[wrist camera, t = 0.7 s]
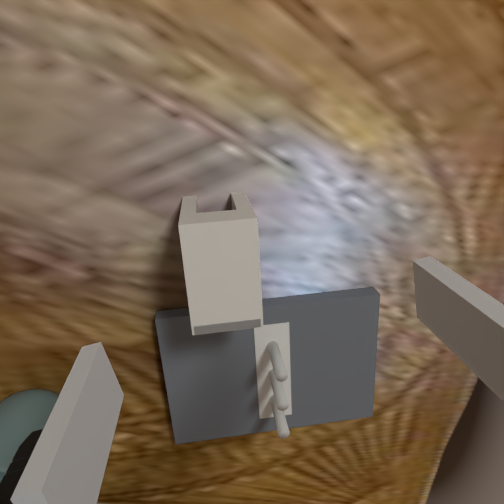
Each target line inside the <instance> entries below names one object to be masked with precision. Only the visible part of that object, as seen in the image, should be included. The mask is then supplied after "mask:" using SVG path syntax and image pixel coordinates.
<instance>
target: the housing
mask: <svg viewBox="0 0 504 504" xmlns="http://www.w3.org/2000/svg"><path fill="white" fill-rule="evenodd" d="M231 201H232V210H227V211H216V212H205V213H198V205H197V196H188V197H183V199H182V205H181V211H180V217H179V223H178V228H179V235H180V243H181V251H182V259H183V266H184V274H185V282H186V289H187V297H188V305H189V313H190V320H191V328H192V335H200V334H208V333H217V332H225V331H234V330H242V329H251V328H259V327H264V326H263V307H262V289H261V271H260V253H259V235H258V218H257V216H256V214H255V212H254V210H253V208H252V206H251V204H250V202H249V200H248V198H247V196H246V194H245V192H235V193H231Z"/></svg>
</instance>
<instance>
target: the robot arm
mask: <svg viewBox="0 0 504 504" xmlns="http://www.w3.org/2000/svg"><path fill="white" fill-rule="evenodd" d="M413 270H414V283H415V296H416V309H417V317H418V318H419V319H420V320H421V321H422V322H423V323H424V324H425V325H426V326H427V327H428V328H429V329H430V330H431V331H432V332H433V333H434V334H435V335H436V336H437V337H438V338H439V339H440V340H441V341H442V342H443V343H444V344H445V345H446V346H447V347H448V348H449V349H450V350H451V351H452V352H453V353H454V354H455V355H456V356H457V357H458V358H459V359H460V360H461V361H462V362H463V363H464V364H465V365H466V366H467V367H468V368H470V369H471V370H472V371H473V372H474V373H475V374H476V375H477V376H478V377H479V378H480V379H481V380H482V381H483V382H484V383H485V384H486V385H487V386H488V387H489V388H490V389H491V390H492V391H493V392H494V393H495V394H496V395H497V396H498V397H499V398H500V399H501V400H502V401H503V402H504V305H503V304H502V303H500V302H499V301H497V300H496V299H494V298H493V297H491V296H490V295H488V294H487V293H485V292H484V291H482V290H481V289H479V288H478V287H476V286H475V285H473V284H472V283H470V282H469V281H467V280H466V279H464V278H463V277H461V276H460V275H458V274H457V273H455V272H454V271H452V270H451V269H449V268H448V267H446V266H444V265H443V264H441V263H440V262H438V261H437V260H435V259H434V258H432V257H431V256H429V257H425V258H421V259H417V260H414V261H413ZM123 397H124V394H123V392H122V390H121V387H120V385H119V383H118V380H117V378H116V376H115V373H114V371H113V369H112V366H111V364H110V362H109V360H108V357H107V355H106V353H105V350H104V348H103V346H102V343H101V342H99V343H95V344H91V345H87V346H84V347H82V348H81V350H80V352H79V355H78V357H77V359H76V361H75V363H74V365H73V367H72V369H71V372H70V374H69V376H68V378H67V380H66V382H65V384H64V386H63V389H62V391H61V393H60V395H59V397H58V399H57V401H56V403H55V406H54V408H53V410H52V412H51V414H50V416H49V418H48V420H47V423H46V425H45V427H44V429H40V430H37V431H33V432H31V434H30V435H29V436H28V437H27V438H26V439H25V440H24V441H23V443H22V444H21V445H20V446H19V448H18V450H17V452H16V454H15V456H14V458H13V459H12V463H10V465H9V467H8V469H7V471H6V475H4V477H3V479H2V481H1V483H0V504H97V500H98V496H99V492H100V488H101V484H102V480H103V476H104V472H105V468H106V464H107V460H108V456H109V452H110V448H111V444H112V440H113V436H114V432H115V428H116V424H117V420H118V417H119V413H120V409H121V405H122V401H123Z"/></svg>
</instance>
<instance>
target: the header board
mask: <svg viewBox="0 0 504 504" xmlns="http://www.w3.org/2000/svg"><path fill="white" fill-rule="evenodd" d="M379 302H380V294H379V293H378V291H377V290H376V289H375V288H374V287H368V288H359V289H350V290H341V291H332V292H323V293H314V294H305V295H296V296H287V297H278V298H269V299H262V307H263V326H264V327H259V328H251V329H242V330H234V331H225V332H217V333H208V334H200V335H192V328H191V320H190V313H189V307H188V308H179V309H170V310H161V311H156V316H155V323H156V329H157V335H158V341H159V348H160V354H161V360H162V366H163V372H164V378H165V384H166V390H167V396H168V402H169V408H170V414H171V420H172V426H173V432H174V438H175V444H182V443H189V442H196V441H203V440H210V439H217V438H224V437H231V436H238V435H245V434H252V433H259V432H266V431H273V430H277V431H278V436H279V437H280V438H286V437H288V436H289V434H290V432H289V428H294V427H301V426H308V425H315V424H322V423H329V422H336V421H343V420H350V419H357V418H364V417H371V416H372V414H373V398H374V382H375V366H376V350H377V334H378V318H379Z"/></svg>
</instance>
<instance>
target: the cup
mask: <svg viewBox="0 0 504 504" xmlns="http://www.w3.org/2000/svg"><path fill="white" fill-rule="evenodd" d="M58 397H59V395H58V394H57V393H55V392H52V391H50V390H45V389H28V390H23V391H20V392H17V393H14V394H12V395H10V396H8V397H6V398H5V399H3V400H2V401H0V483H1V481H2V479H3V477H4V475H6V471H7V469H8V467H9V465H10V463H12V459H13V458H14V456H15V454H16V452H17V450H18V448H19V446H20V445H21V444H22V443H23V441H24V440H25V439H26V438H27V437H28V436H29V435H30V434H31V432H33V431H37V430H40V429H44V427H45V425H46V423H47V420H48V418H49V416H50V414H51V412H52V410H53V408H54V406H55V403H56V401H57V399H58Z"/></svg>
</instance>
